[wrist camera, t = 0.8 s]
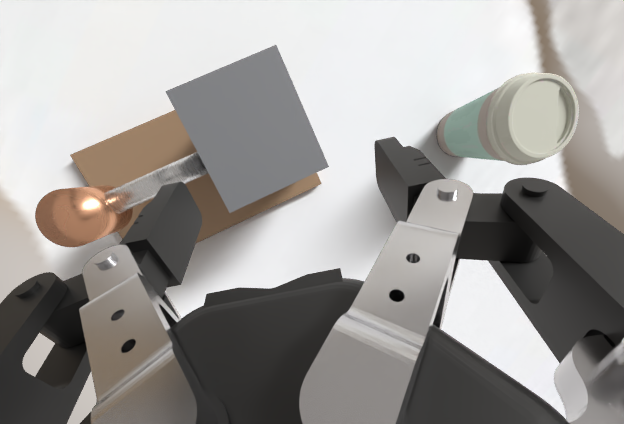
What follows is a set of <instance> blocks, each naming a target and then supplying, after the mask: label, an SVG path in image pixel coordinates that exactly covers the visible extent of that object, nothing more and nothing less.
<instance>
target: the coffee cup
mask: <svg viewBox="0 0 624 424" xmlns="http://www.w3.org/2000/svg"><path fill="white" fill-rule="evenodd" d="M578 115H579V106H578V101H577V97H576V94H575V92H574V90H573V88H572V87H571V85H570V84H569V83H568V82H567V81H566V80H565V79H563V78H562V77H560V76H558V75H555V74H549V73H543V74H542V73H527V74H521V75H517V76H515V77H513V78H511V79H509V80H508V81H506V82H505V83H504V84H503V85H502V86H501V87H499V88H497V89H495V90H494V91H492V92H490V93H488V94H486V95H484V96H482V97H480V98H478V99H476V100H474V101H472V102H470V103H468V104H466V105H464V106H462V107H460V108H458V109H456V110H454V111H452V112H450V113H449V114H447V115H446V116H445V117H444V118H443V119H442V120H441V122H440V124H439V126H438V130H437V140H438V144H439V146H440V147H441V149H442V150H443V151H444V152H445V153H447V154H448V155H451V156H459V157H469V158H479V159H490V160H500V161H506V162H508V163H511V164H515V165H527V164H531V163H535V162H539V161H541V160H543V159H545V158H547V157H550V156H552V155H554V154H556V153H558V152H559V151H560V150H562V149H563V148H564V147H565V146H566V145H567V143H568V142H569V141H570V139H571V138H572V136H573V134H574V132H575V129H576V126H577V122H578Z"/></svg>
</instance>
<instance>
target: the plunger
mask: <svg viewBox="0 0 624 424" xmlns="http://www.w3.org/2000/svg"><path fill="white" fill-rule="evenodd" d="M206 174H208V171H207V169H206V167H205V165H204V164H203V162H202V160H201V158H200V156H199V154H198V152H195V153H193V154H191V155H188V156H186V157H184V158H182V159H180V160H177V161H175V162H173V163H171V164H168V165H166V166H164V167H162V168H159V169H157V170H155V171H153V172H150V173H148V174H146V175H144V176H141V177H139V178H137V179H135V180H132V181H130V182H128V183H126V184H123V185H121V186H119V187H117V188H115V187H113V186H107V185H101V186H90V187H79V188H68V189H59V190H55V191H52V192H50V193H48V194H47V195H45V196H44V197H43V198H42V199H41V200H40V202H39V204H38V205H37V208H36V213H35V218H36V223H37V226H38V228H39V230H40V231H41V233H42V234H43V235H44V236H45V237H46V238H47V239H49V240H50V241H52V242H53V243H55V244H58V245H61V246H65V247H78V246H82V245H85V244H87V243H90V242H92V241H95V240H97V239H100V238H102V237H105V236H107V235H110V234H112V233H114V232H117V231H119V230H121V229H123V228H124V227H126V226H127V225H128V223H129V222H130V220H131V218H132V214H133V207H135V206H137V205H140V204H142V203H144V202H146V201H149V200H151V199H153V198H154V197H155V196H156V194H157V193H158V191H159V190H160V188H161V187H162V186H163V185H167V184H171V183H176V182H183V183H184V184H186V183H188V182H190V181H193V180H195V179H197V178H199V177H201V176H204V175H206Z"/></svg>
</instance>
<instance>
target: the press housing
mask: <svg viewBox="0 0 624 424" xmlns="http://www.w3.org/2000/svg"><path fill="white" fill-rule="evenodd" d="M166 93H167V95H168V97H169V99H170V101H171V103H172V105H173V107H174V108H175V110H174V111H172V112H169V113H167V114H165V115H162V116H160V117H158V118H155V119H153V120H151V121H148V122H146V123H144V124H141V125H139V126H137V127H134V128H132V129H130V130H127V131H125V132H123V133H120V134H118V135H116V136H113V137H111V138H109V139H106V140H104V141H102V142H99V143H97V144H95V145H92V146H90V147H88V148H85V149H83V150H81V151H78V152H76V153H74V154H71V155H70V156H71V157H72V159H73V161H74V162H75V164H76V165H77V167H78V169H79V170H80V172H81V173H82V175H83V177H84V178H85V180H86V181H87V183H88V185H89V186H101V185H107V186H113V187H115V188H117V187H119V186H121V185H123V184H126V183H128V182H130V181H132V180H135V179H137V178H139V177H141V176H144V175H146V174H148V173H150V172H153V171H155V170H157V169H159V168H162V167H164V166H166V165H168V164H171V163H173V162H175V161H177V160H180V159H182V158H184V157H186V156H188V155H191V154H193V153H195V152H198V154H199V156H200V158H201V160H202V162H203V164H204V165H205V167H206V169H207V171H208V174H206V175H204V176H201V177H199V178H197V179H195V180H193V181H190V182H188V183H186V184H185V185H186V186H187V188H188V190H189V192H190V193H191V195H192V197H193V199H194V201H195V203H196V205H197V206H198V208H199V210H200V212H201V215H202V226H201V229H200V232H199V234H198V237H197V240H196V243H197V242H200V241H202V240H204V239H206V238H208V237H210V236H212V235H214V234H216V233H219V232H221V231H223V230H225V229H227V228H229V227H231V226H233V225H235V224H238V223H240V222H242V221H244V220H246V219H248V218H250V217H252V216H254V215H257V214H259V213H261V212H263V211H265V210H267V209H269V208H271V207H273V206H276V205H278V204H280V203H282V202H284V201H286V200H288V199H290V198H292V197H295V196H297V195H299V194H301V193H303V192H305V191H307V190H309V189H311V188H314V187H316V186H318V185H320V184H321V182H320V179H319V177H318V175H317V173H316V172H318V171H321V170H323V169H325V168H327V167H329V166H328V164H327V161H326V159H325V157H324V155H323V152H322V150H321V148H320V145H319V143H318V141H317V138H316V136H315V134H314V131H313V129H312V127H311V124H310V122H309V120H308V118H307V115H306V113H305V111H304V108H303V106H302V104H301V101H300V99H299V97H298V94H297V92H296V90H295V87H294V85H293V83H292V81H291V78H290V76H289V74H288V71H287V69H286V67H285V64H284V62H283V60H282V57H281V55H280V53H279V50H278V48H277V46H276V45H275V46H272V47H270V48H267V49H265V50H263V51H260V52H258V53H256V54H253V55H251V56H249V57H246V58H244V59H241V60H239V61H237V62H234V63H232V64H230V65H227V66H225V67H222V68H220V69H218V70H215V71H213V72H211V73H208V74H206V75H204V76H201V77H199V78H196V79H194V80H192V81H189V82H187V83H185V84H182V85H180V86H177V87H175V88H173V89H170V90H168V91H166ZM153 199H154V198H153ZM153 199H151V200H149V201H146V202H144V203H142V204H140V205H137V206H135V207H133V214H132V218H131V220H130V222H129V223H128V225H127V226H126V227H124V228H123V229H121V230H119V231H118V233H119V234H120V236H121V238H122V239H123V238H124V237H125V235H126V234H127V232H128V231H129V229H130V227H131V226H132V225H134V221H135V220H136V218H138V215H139V214H140V212H141V211H142V209H143V208H144V207H145V206H146V205H147V204H148V203H150V202H151V201H152V200H153Z"/></svg>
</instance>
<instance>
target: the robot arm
mask: <svg viewBox="0 0 624 424" xmlns="http://www.w3.org/2000/svg"><path fill="white" fill-rule="evenodd" d="M375 163H376V178H377V183H378V187H379V189H380V191H381V193H382V195H383V197H384V199H385V201H386V203H387V205H388V207H389V209H390V210H391V212H392V214H393V216H394V218H395V220H396V222H397V224H396V225H395V227H394V229H393V231H392V233H391V235H390V236H389V238H388V240H387V242H386V244H385V245H384V247H383V249H382V251H381V253H380V255H379V256H378V258H377V260H376V262H375V264H374V266H373V267H372V269H371V271H370V273H369V275H368V277H367V278H366V280H365V282H364V281H360V280H355V279H346V278H342V275H341V271H340V268H339V269H333V270H328V271H323V272H318V273H313V274H307V275H305V276H302V277H300V278H297V279H295V280H293V281H290V282H288V283H285V284H283V285H281V286H278V287H276V288H272V289H263V288H235V289H230V290H225V291H219V292H214V293H209V294H207V295H206V299H205V303H204V306H202V307H200V308H198V309H196V310H194V311H192V312H191V313H189V314H187V315H186V316H185V317H183V318H181V316H180V315H179V313H178V311H177V310H176V308H175V306H174V305H173V303H172V301H171V299H170V298H169V296H168V295H167V294H166V293H165V290H166V288H167V287H171V286H176V285H181V283H182V280H183V277H184V274H185V271H186V269H187V266H188V263H189V260H190V257H191V254H192V251H193V249H194V246H195V243H196V240H197V237H198V234H199V232H200V229H201V226H202V215H201V212H200V210H199V208H198V206H197V205H196V203H195V201H194V199H193V197H192V195H191V193H190V192H189V190H188V188H187V186H186V185H185V184H184V183H183V182H176V183H171V184H167V185H163V186H162V187H161V188H160V190H159V191H158V193H157V194H156V196H155V197H154V199H153V200H152V201H151V202H150V203H148V204H147V205H146V206H145V207H144V208H143V209H142V211H141V212H140V214H139V215H138V218H136V220H135V221H134V225H132V226H131V227H130V229H129V231H128V232H127V234H126V235H125V237H124V238H123V240H122V241H121V243H120V244H119V245H115V246H111V247H109V248H106V249H104V250H102V251H101V252H99V253H97V254H96V255H95V256H93V257H92V258H91V259H90V260H89V261H88V262H87V263H86V265H85V266H84V268H83V271H82V274H80V275H78V276H75V277H73V278H70V279H68V280H66V281H62V280H61V279H60V278H59V277H57V276H56V275H55V274H54V273H50V272H49V273H43V274H39V275H37V276H34V277H32V278H30V279H28V280H27V281H25V282H23V283H22V284H21V285H19V286H18V287H16V288H15V289H14V290H13V291H12V292H11V293H10V294H9V295H8V296H7V297H6V298H5V299H4V300H3V301H2V303H1V304H0V424H67V422H68V419H69V417H70V415H71V413H72V411H73V408H74V406H75V404H76V402H77V399H78V398H79V396H80V393H81V391H82V389H83V387H84V385H85V383H86V380H87V378H88V376H89V374H90V372H92V377H93V382H94V387H95V392H96V397H97V403H96V405H95V406H94V408H93V409H92V412H90V413H89V414H88V416H87V417H86V418H85V419H84V420H83V421H82V422H81V423H80V424H624V234H623V233H621V232H620V231H618V230H617V229H616V228H614V227H613V226H612V225H610V224H609V223H607V222H606V221H605V220H604V219H602V218H601V217H600V216H598V215H597V214H596V213H594V212H593V211H592V210H590V209H589V208H588V207H586V206H585V205H584V204H582V203H581V202H580V201H578V200H577V199H576V198H574V197H573V196H572V195H570V194H569V193H568V192H566V191H565V190H564V189H562V188H561V187H559V186H558V185H556V184H554V183H552V182H549V181H546V180H542V179H537V178H518V179H514V180H511V181H509V182H508V183H507V184H506V185H505V187H504V191H503V194H479V193H473V190H472V189H471V187H470V186H468V185H467V184H465V183H463V182H461V181H457V180H452V179H446V178H445V177H444V176H443V175H442V174H441V173H440V172H439V171H438V170H437V169H436V168H435V166H434V165H433V164H431V162H430V161H429V160H428V159H427V158H426V157H425V156H424V155H423V153H422V152H421V151H420V150H417V149H415V148H413V147H411V146H407V147H403V146H402V145H401V144H400V143H399V142H398V140H397V139H396V138H395V137H391V138H386V139H382V140H377V141H375ZM545 254H546V255H547V256H546V255H545ZM460 259H473V260H488V261H489V263H490V264H491V265H492V267H493V268H494V270H495V271H496V273H497V274H498V275H499V277H500V278H501V280H502V281H503V283H504V284H505V285H506V287H507V288H508V290H509V291H510V293H511V294H512V295H513V297H514V298H515V300H516V301H517V303H518V304H519V306H520V307H521V308H522V310H523V311H524V313H525V314H526V316H527V317H528V318H529V320H530V321H531V323H532V324H533V326H534V327H535V328H536V330H537V331H538V333H539V334H540V336H541V337H542V338H543V340H544V341H545V343H546V344H547V346H548V347H549V348H550V350H551V351H552V353H553V354H554V356H555V357H556V358H557V360H558V361H559V363H560V364H559V366H558V367H557V368H556V370H555V373H554V383H555V387H556V390H557V392H558V394H559V396H560V398H561V400H562V402H563V405H564V408H565V412H566V419H565V418H564V417H563V416H562V415H561V414H560V413H559V412H558V411H557V410H555V409H554V408H553V407H552V406H551V405H550V404H548V403H547V402H546V401H544V400H543V399H542V398H540V397H539V396H538V395H536V394H535V393H533V392H532V391H530V390H529V389H527V388H526V387H525V386H523V385H522V384H520V383H519V382H517V381H516V380H514V379H513V378H511V377H510V376H508V375H507V374H505V373H504V372H503V371H501V370H500V369H498V368H497V367H495V366H494V365H492V364H491V363H489V362H488V361H486V360H485V359H483V358H482V357H481V356H479V355H478V354H476V353H475V352H473V351H472V350H470V349H469V348H467V347H466V346H464V345H463V344H461V343H460V342H459V341H457V340H456V339H454V338H453V337H451V336H450V335H448V334H447V333H445V332H444V331H442V330H441V327H442V323H443V320H444V315H445V311H446V307H447V303H448V299H449V296H450V292H451V289H452V286H453V282H454V279H455V275H456V272H457V268H458V265H459V261H460ZM39 332H40V333H41V334H42V335H44V336H45V337H47V338H48V339H50V340H52V341H53V342H54V343H55V345H54V347H53V348H52V350H51V351H50V353H49V355H48V356H47V358H46V360H45V361H44V363H43V365H42V367H41V368H40V370H39V371H38V373H37V375H36V377H34V376H32V375H30V374H28V373H27V372H25V370H24V369H23V366H22V361H23V357H24V355H25V353H26V351H27V350H28V349H29V347H30V346H31V344H32V343H33V341H34V340H35V338H36V337H37V335H38V334H39Z"/></svg>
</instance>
